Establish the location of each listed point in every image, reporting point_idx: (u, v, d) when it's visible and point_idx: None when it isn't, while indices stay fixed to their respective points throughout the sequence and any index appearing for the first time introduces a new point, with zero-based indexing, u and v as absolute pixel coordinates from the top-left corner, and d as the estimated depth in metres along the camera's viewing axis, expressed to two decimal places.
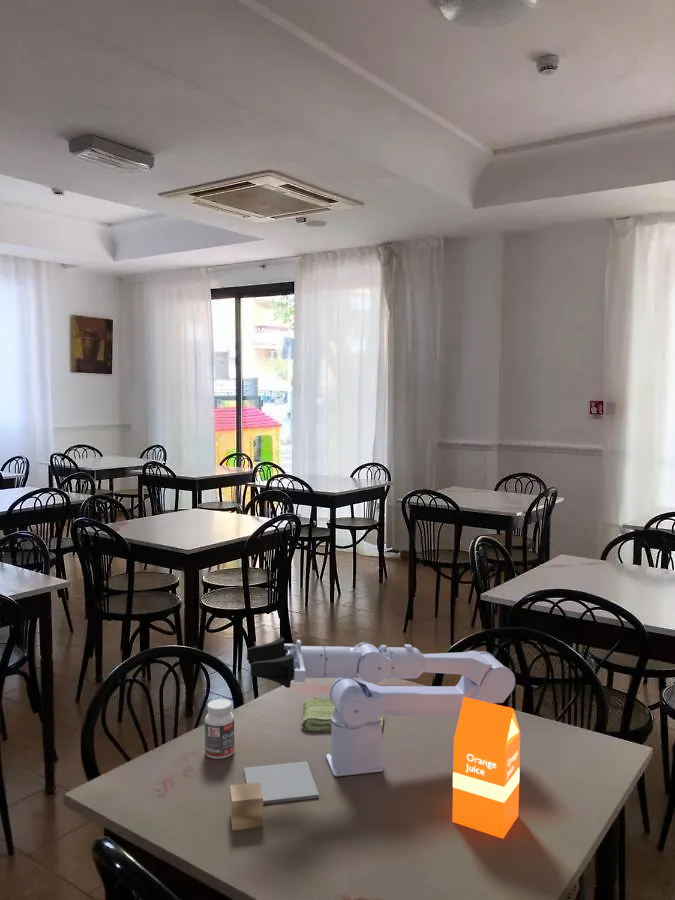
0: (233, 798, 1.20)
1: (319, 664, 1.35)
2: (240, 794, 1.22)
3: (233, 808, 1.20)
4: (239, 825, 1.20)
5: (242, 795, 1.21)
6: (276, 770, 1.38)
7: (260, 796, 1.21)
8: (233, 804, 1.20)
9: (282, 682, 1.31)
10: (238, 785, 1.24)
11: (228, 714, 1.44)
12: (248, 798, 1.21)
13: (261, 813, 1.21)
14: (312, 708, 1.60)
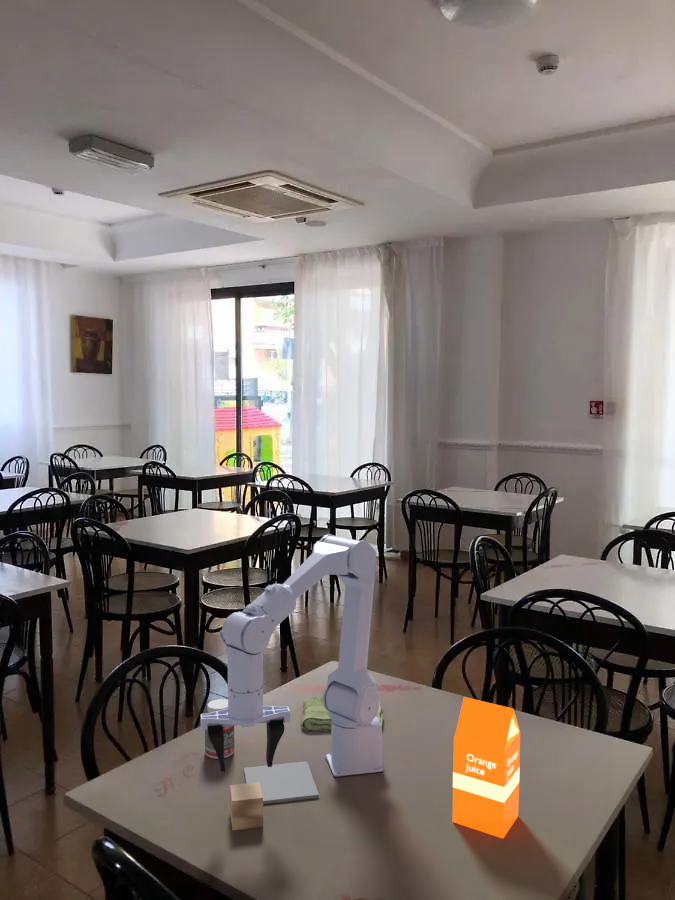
0: (233, 798, 1.20)
1: (262, 692, 1.21)
2: (240, 793, 1.22)
3: (233, 808, 1.20)
4: (239, 825, 1.20)
5: (242, 795, 1.21)
6: (276, 770, 1.38)
7: (260, 795, 1.21)
8: (233, 804, 1.20)
9: None
10: (238, 785, 1.24)
11: None
12: (248, 797, 1.21)
13: (261, 813, 1.21)
14: (311, 708, 1.60)
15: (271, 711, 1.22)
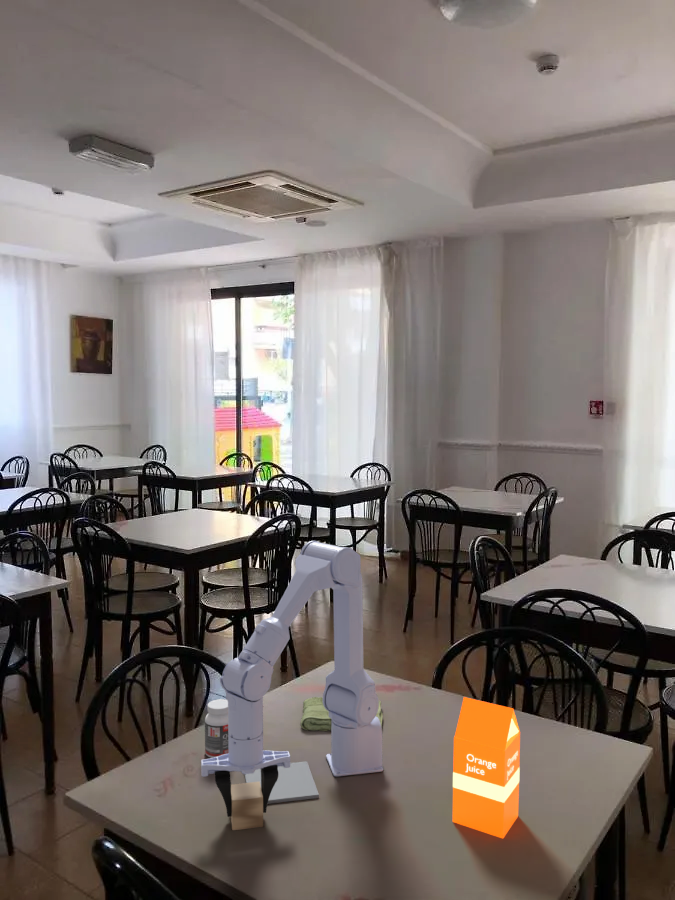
0: (233, 797, 1.20)
1: None
2: (240, 793, 1.22)
3: (233, 807, 1.20)
4: (239, 824, 1.20)
5: (242, 794, 1.21)
6: None
7: (260, 795, 1.21)
8: (233, 803, 1.20)
9: None
10: (238, 784, 1.24)
11: None
12: (248, 797, 1.21)
13: (261, 812, 1.21)
14: (311, 708, 1.61)
15: (271, 756, 1.23)
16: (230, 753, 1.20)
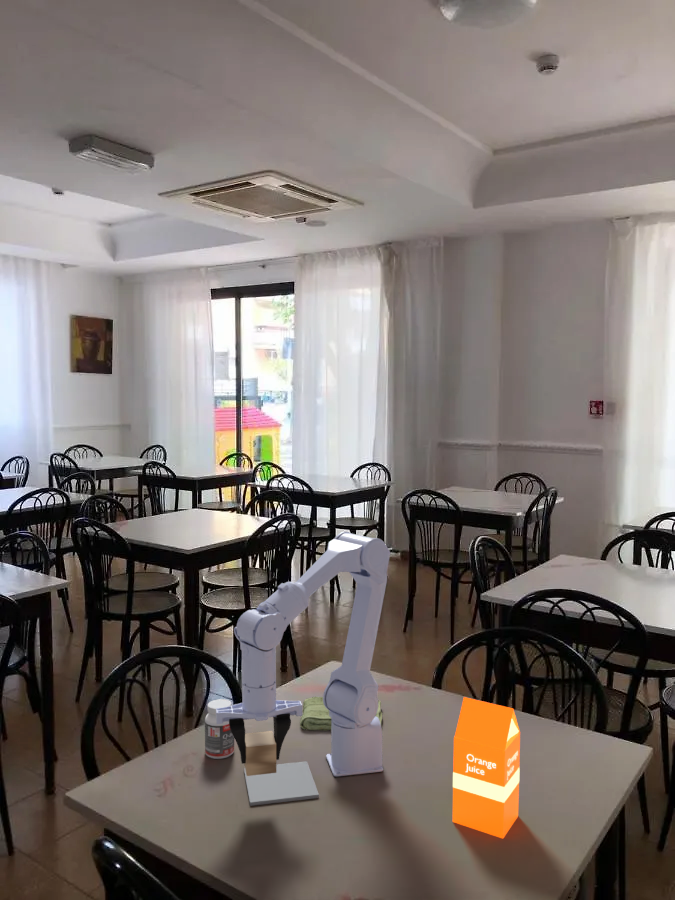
0: (247, 744, 1.24)
1: (275, 687, 1.25)
2: (253, 740, 1.25)
3: (247, 754, 1.23)
4: (253, 770, 1.24)
5: (256, 741, 1.25)
6: (276, 770, 1.38)
7: (273, 742, 1.25)
8: (247, 750, 1.23)
9: None
10: (251, 733, 1.28)
11: None
12: (262, 744, 1.24)
13: (274, 759, 1.24)
14: (311, 707, 1.61)
15: (284, 705, 1.26)
16: (244, 701, 1.24)
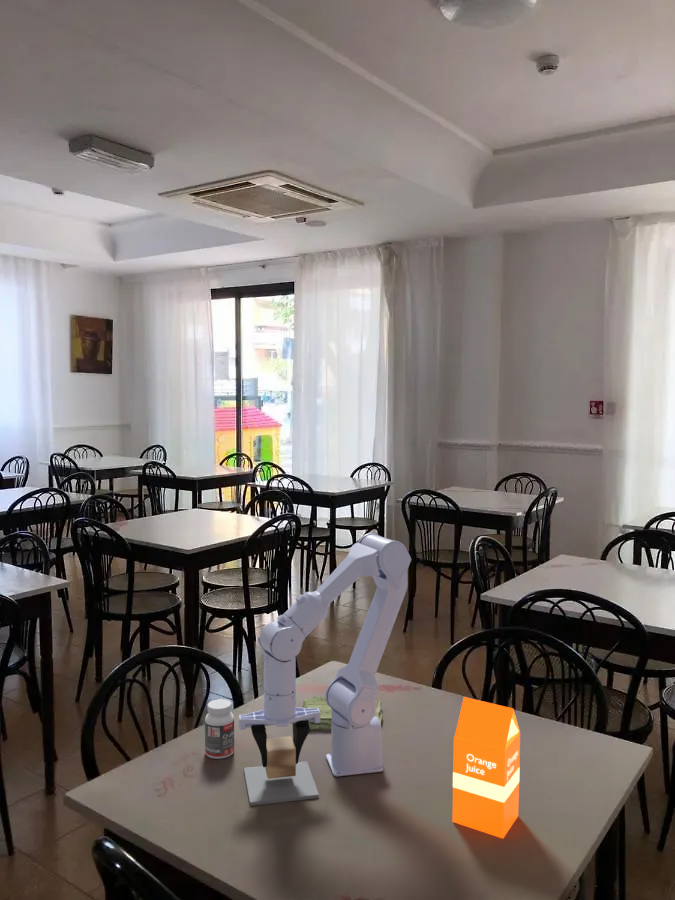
0: (268, 749, 1.31)
1: (295, 695, 1.33)
2: (274, 745, 1.33)
3: (268, 758, 1.31)
4: (274, 774, 1.31)
5: (276, 746, 1.32)
6: None
7: (292, 747, 1.32)
8: (268, 754, 1.31)
9: None
10: (272, 738, 1.35)
11: (228, 714, 1.44)
12: (282, 748, 1.32)
13: (294, 763, 1.32)
14: (311, 707, 1.61)
15: (303, 712, 1.34)
16: (266, 708, 1.31)
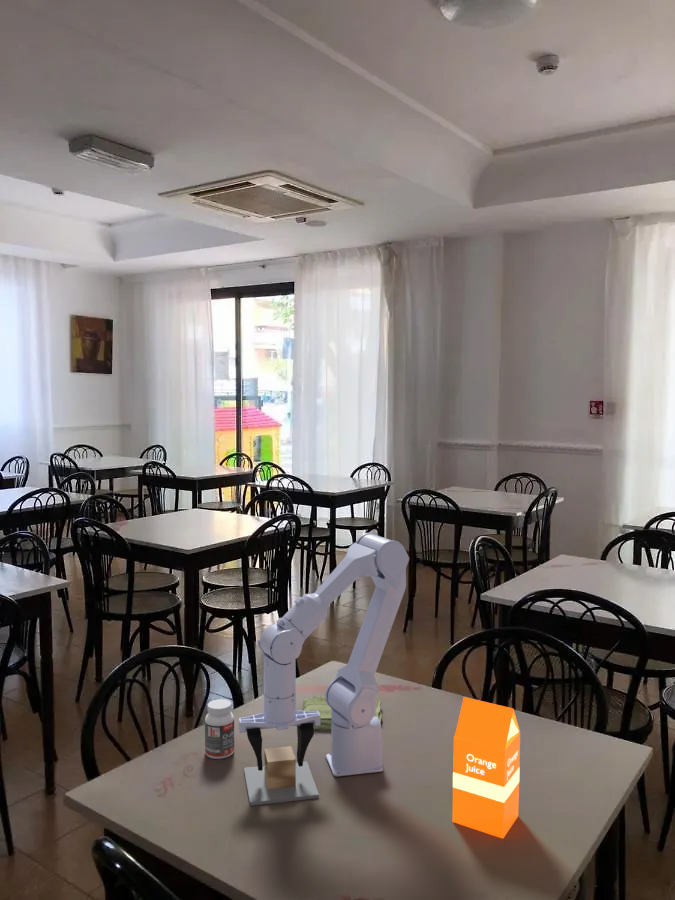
0: (268, 759, 1.32)
1: (295, 698, 1.33)
2: (274, 756, 1.33)
3: (268, 768, 1.31)
4: (274, 784, 1.31)
5: (276, 757, 1.33)
6: None
7: (292, 757, 1.32)
8: (268, 765, 1.31)
9: None
10: (272, 749, 1.36)
11: (228, 714, 1.44)
12: (282, 759, 1.32)
13: (294, 773, 1.32)
14: (310, 707, 1.61)
15: (303, 715, 1.34)
16: (266, 711, 1.31)
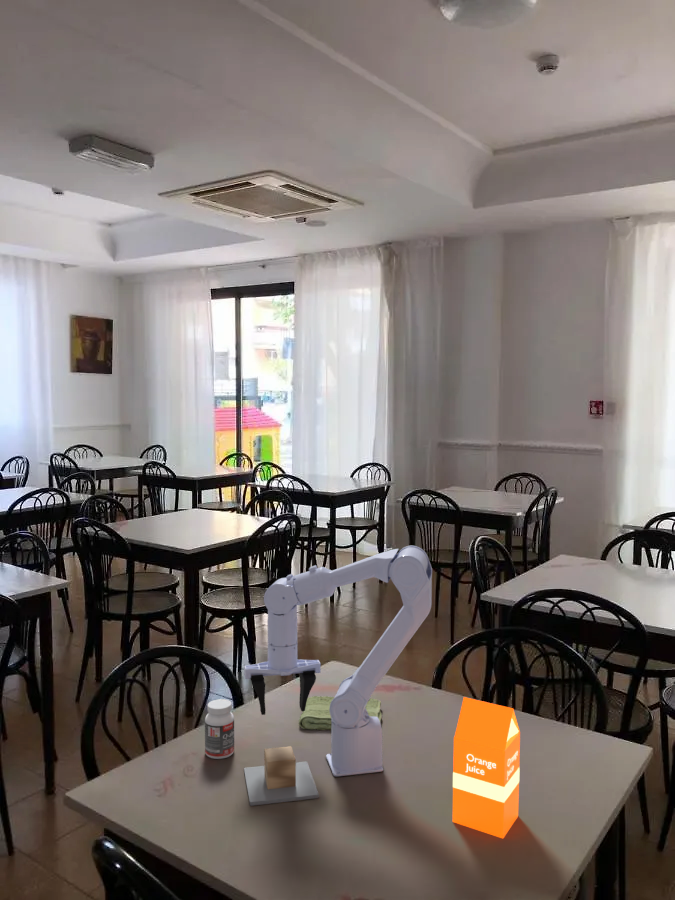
0: (268, 759, 1.32)
1: None
2: (274, 756, 1.33)
3: (268, 768, 1.31)
4: (274, 784, 1.31)
5: (276, 757, 1.33)
6: None
7: (292, 757, 1.32)
8: (268, 765, 1.31)
9: None
10: (272, 749, 1.36)
11: (228, 714, 1.44)
12: (282, 759, 1.32)
13: (294, 773, 1.32)
14: (310, 707, 1.61)
15: (304, 663, 1.43)
16: (269, 659, 1.40)
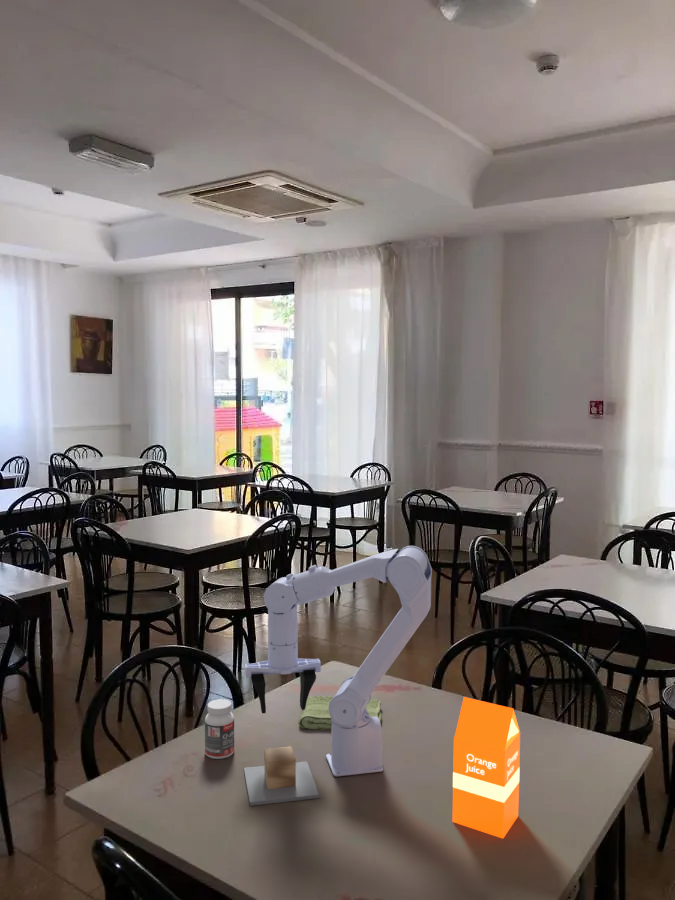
0: (268, 759, 1.32)
1: (297, 646, 1.43)
2: (274, 756, 1.33)
3: (268, 768, 1.31)
4: (274, 784, 1.31)
5: (276, 757, 1.33)
6: None
7: (292, 757, 1.32)
8: (268, 765, 1.31)
9: None
10: (272, 749, 1.36)
11: (228, 714, 1.44)
12: (282, 759, 1.32)
13: (294, 773, 1.32)
14: (310, 706, 1.61)
15: (304, 662, 1.44)
16: (270, 658, 1.41)
